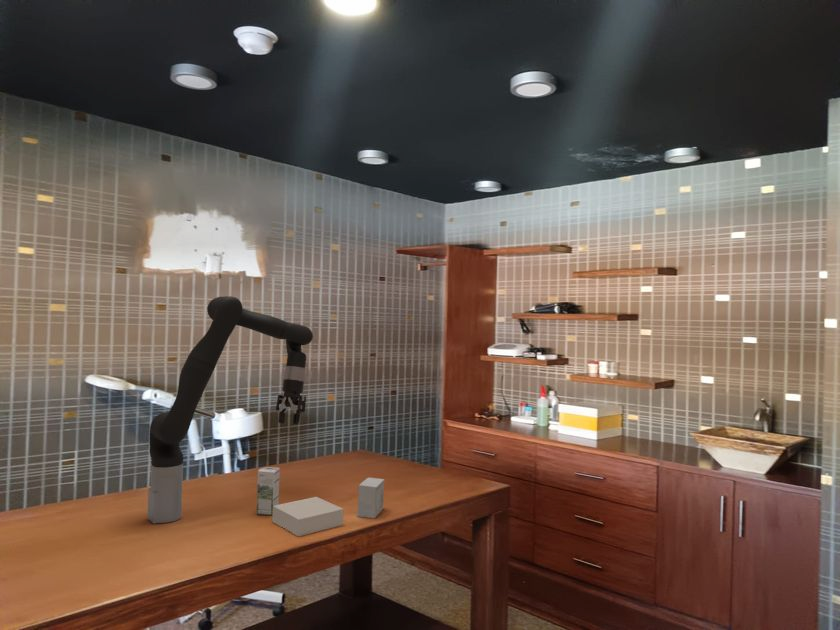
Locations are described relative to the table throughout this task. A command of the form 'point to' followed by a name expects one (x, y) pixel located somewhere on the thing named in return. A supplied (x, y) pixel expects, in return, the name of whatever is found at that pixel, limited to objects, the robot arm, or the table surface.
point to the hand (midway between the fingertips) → (288, 423)
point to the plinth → (307, 516)
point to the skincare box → (370, 497)
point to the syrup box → (267, 490)
